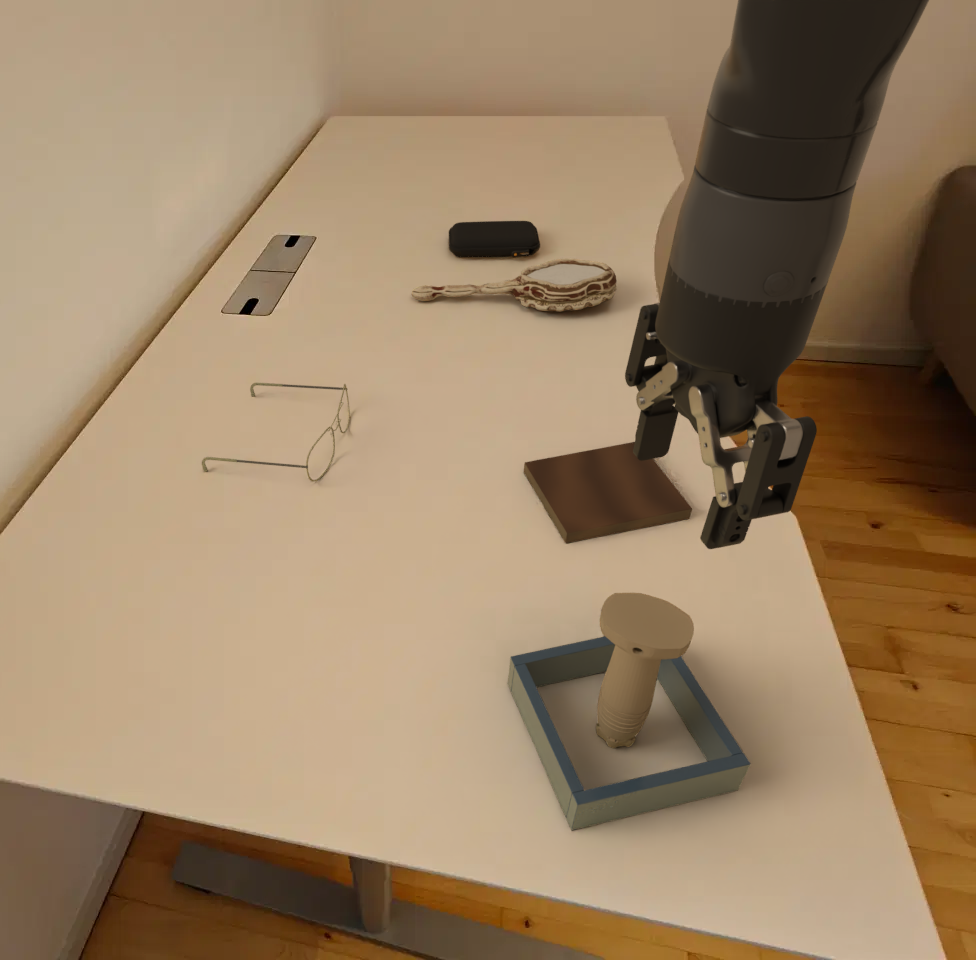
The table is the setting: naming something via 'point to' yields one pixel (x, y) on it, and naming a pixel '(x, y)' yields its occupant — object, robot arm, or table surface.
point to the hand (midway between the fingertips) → (681, 496)
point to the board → (604, 492)
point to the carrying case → (493, 239)
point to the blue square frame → (633, 794)
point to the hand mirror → (543, 286)
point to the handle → (636, 660)
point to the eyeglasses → (312, 446)
